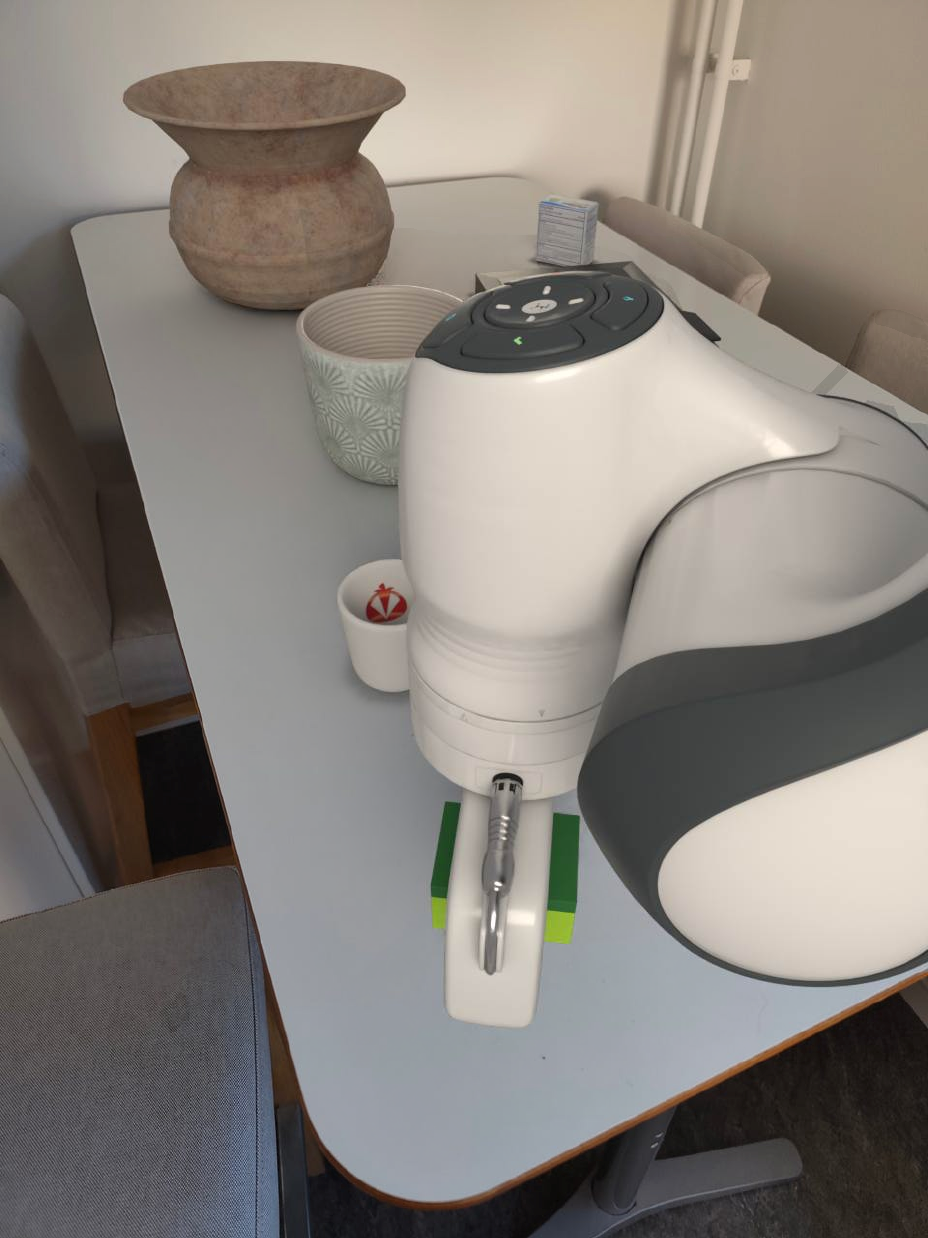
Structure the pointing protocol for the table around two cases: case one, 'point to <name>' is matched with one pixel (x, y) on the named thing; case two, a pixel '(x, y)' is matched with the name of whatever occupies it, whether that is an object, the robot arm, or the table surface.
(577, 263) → the medicine box
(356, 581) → the cup
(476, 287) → the picture frame
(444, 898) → the sponge
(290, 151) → the pot
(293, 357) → the table surface
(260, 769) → the table surface
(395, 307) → the planter
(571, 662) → the robot arm
